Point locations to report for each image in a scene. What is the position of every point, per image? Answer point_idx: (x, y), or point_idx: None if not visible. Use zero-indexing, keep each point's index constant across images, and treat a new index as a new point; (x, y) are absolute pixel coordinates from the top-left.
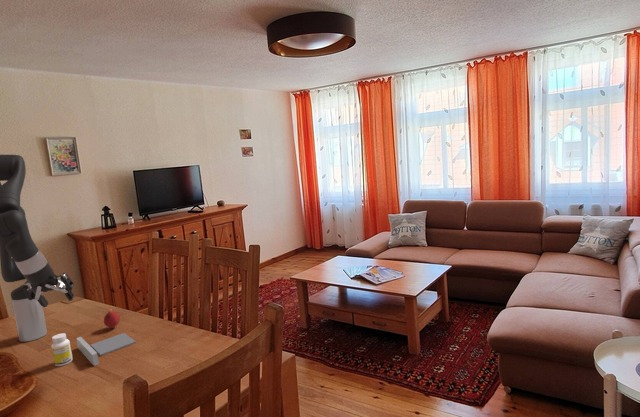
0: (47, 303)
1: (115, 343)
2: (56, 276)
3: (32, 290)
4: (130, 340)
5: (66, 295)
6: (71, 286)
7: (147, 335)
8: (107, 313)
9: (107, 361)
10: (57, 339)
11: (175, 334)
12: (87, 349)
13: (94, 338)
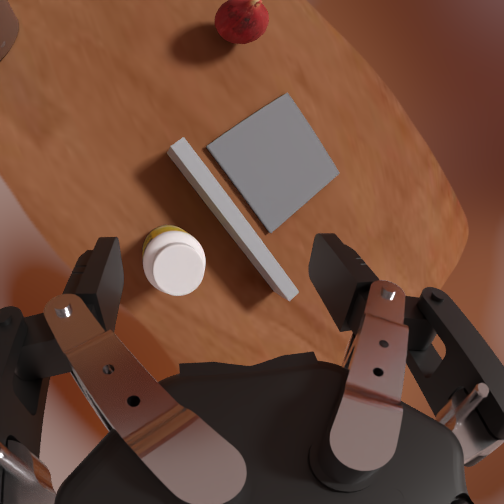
0: (117, 251)
1: (288, 165)
2: (452, 467)
3: (10, 382)
4: (324, 160)
5: (337, 314)
6: (431, 339)
7: (351, 135)
8: (241, 8)
9: (299, 270)
10: (185, 293)
11: (405, 161)
12: (259, 260)
13: (194, 89)
